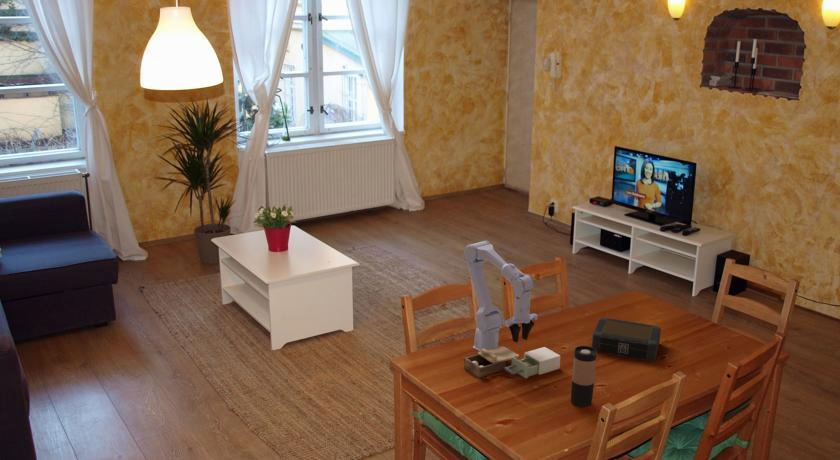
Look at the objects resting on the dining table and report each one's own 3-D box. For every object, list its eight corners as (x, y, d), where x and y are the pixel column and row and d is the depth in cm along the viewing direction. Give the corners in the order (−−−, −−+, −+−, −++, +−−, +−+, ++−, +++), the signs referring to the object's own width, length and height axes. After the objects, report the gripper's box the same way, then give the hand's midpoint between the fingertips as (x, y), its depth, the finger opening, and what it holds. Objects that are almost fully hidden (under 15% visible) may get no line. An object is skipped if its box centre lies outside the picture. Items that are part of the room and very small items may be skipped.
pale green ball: (475, 372, 304) (475, 365, 303) (482, 370, 306) (482, 363, 305) (480, 376, 302) (481, 368, 301) (487, 374, 304) (487, 366, 303)
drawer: (500, 374, 304) (501, 360, 302) (530, 365, 312) (531, 351, 310) (515, 384, 297) (516, 369, 295) (546, 374, 305) (547, 360, 303)
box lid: (477, 354, 310) (477, 348, 310) (502, 347, 317) (502, 341, 316) (493, 364, 302) (494, 358, 302) (518, 356, 309) (519, 351, 308)
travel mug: (567, 397, 289) (571, 345, 283) (588, 397, 290) (593, 345, 284) (573, 408, 282) (577, 355, 276) (594, 407, 282) (599, 355, 276)
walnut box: (463, 369, 308) (464, 358, 307) (488, 361, 315) (489, 351, 313) (479, 379, 300) (480, 368, 299) (505, 372, 307) (506, 360, 305)
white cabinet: (523, 368, 310) (524, 352, 308) (543, 362, 316) (544, 346, 314) (539, 377, 303) (540, 361, 301) (559, 371, 308) (560, 355, 306)
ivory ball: (468, 368, 308) (468, 360, 307) (475, 366, 310) (475, 358, 309) (473, 371, 305) (473, 363, 304) (480, 369, 307) (480, 362, 306)
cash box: (590, 352, 326) (591, 334, 323) (598, 333, 344) (599, 316, 342) (654, 363, 317) (656, 345, 315) (659, 343, 336) (661, 326, 333)
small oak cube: (519, 371, 305) (520, 363, 304) (526, 369, 307) (526, 361, 306) (525, 374, 303) (525, 366, 302) (531, 372, 304) (531, 364, 303)
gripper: (513, 314, 299) (511, 348, 303) (543, 306, 306) (541, 339, 310) (501, 307, 304) (499, 341, 308) (531, 300, 312) (529, 333, 316)
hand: (519, 340), depth 310 cm, fingers open, 4 cm apart
